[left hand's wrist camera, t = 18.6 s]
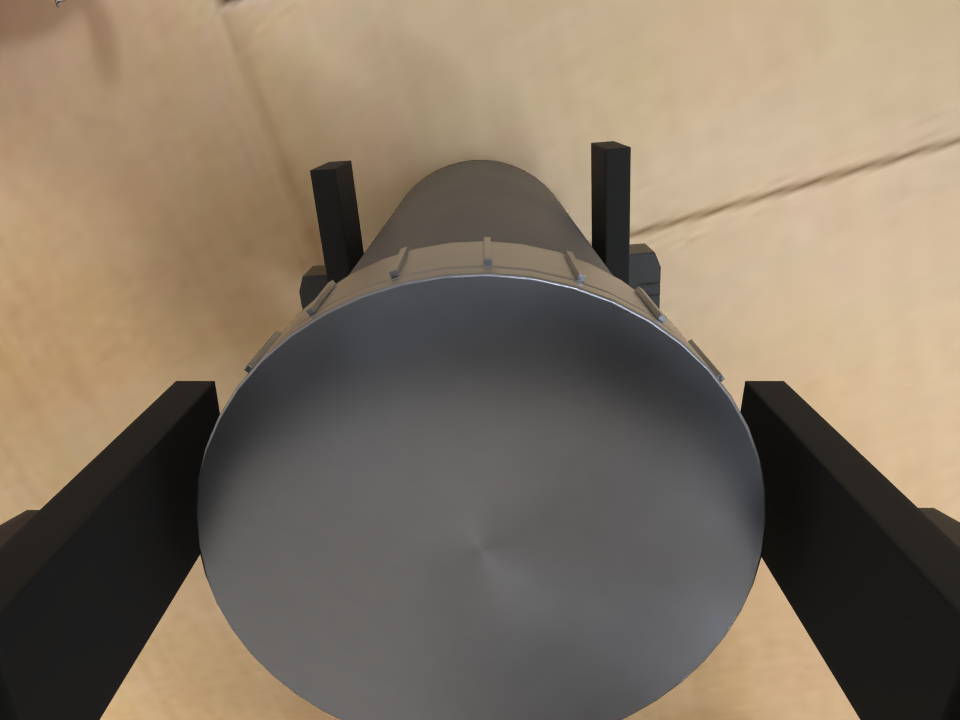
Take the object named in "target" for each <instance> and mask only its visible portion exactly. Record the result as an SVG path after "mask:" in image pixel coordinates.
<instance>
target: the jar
mask: <svg viewBox="0 0 960 720" xmlns="http://www.w3.org/2000/svg"><path fill="white" fill-rule="evenodd" d="M484 237H490V238H491V242H502V243H514V244H524V245H528V246H533V247H537V248H542V249H547V250H551V251H556V252H559V253H562V254H565V252H566V250H568V251H571V252H573V254H574V256H575V258H576V259H578V260H581V261H584V262H586V263H589V264H592V265H593V266H595V267H597V268H599V269H601V270H603V271H605V272H607V273H609V274H610V275H612V274H611V272H610V271H609V270H608V268H607V267H606V266H605V264H604V263H603V261H602V260H601V259H600V257H599V256H598V255H597V253H596V252H595V250H594V249H593V248H592V246H591V245H590V244H589V242H588V241H587V240H586V238H585V237H584V235H583V234H582V233H581V231H580V230H579V229H578V227H577V226H576V224H575V223H574V222H573V220H572V219H571V218H570V216H569V215H568V213H567V212H566V211H565V209H564V208H563V207H562V205H561V204H560V202H559V201H558V200H557V198H556V197H555V196H554V194H553V193H552V192H551V191H550V190H549V189H548V188H547V187H546V186H545V185H544V184H543V183H542V182H540V181H539V180H538V179H537V178H535V177H534V176H532V175H530V174H529V173H527V172H525V171H524V170H521V169H519V168H517V167H514V166H512V165H509V164H505V163H501V162H496V161H488V160H472V161H465V162H459V163H456V164H452V165H449V166H446V167H444V168H442V169H439V170H437V171H435V172H434V173H432V174H430V175H429V176H427V177H425V178H424V179H423V180H422V181H420V182H419V183H418V184H417V185H416V186H415V187H414V188H413V189H412V190H411V191H410V192H409V193H408V194H407V195H406V197H405V198H404V199H403V201H402V202H401V204H400V205H399V206H398V208H397V209H396V210H395V212H394V213H393V215H392V216H391V217H390V219H389V220H388V222H387V223H386V224H385V226H384V227H383V228H382V230H381V231H380V233H379V234H378V235H377V237H376V238H375V240H374V241H373V242H372V244H371V245H370V246H369V248H368V249H367V251H366V252H365V253H364V255H363V256H362V258H361V259H360V260H359V262H358V263H357V264H356V266H355V267H354V269H353V270H352V271H351V273H350V274H352V273H355V272H357V271H359V270H361V269H363V268H365V267H367V266H369V265H372V264H374V263H376V262H378V261H380V260H382V259H385V258H389V257H392V256H395V255H398V253H399V251H400V249H401V248H404V247H407V248H408V251H411V250H414V249H418V248H424V247H429V246H435V245H441V244H447V243H456V242H479V241H484ZM350 274H349V275H350ZM612 276H613V275H612Z"/></svg>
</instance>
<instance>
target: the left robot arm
mask: <svg viewBox="0 0 960 720" xmlns="http://www.w3.org/2000/svg"><path fill="white" fill-rule="evenodd" d="M740 413H741V414H742V416H743V418H744V420H745V422H746V423H747V425H748V427H749V430H750V433H751V436H752V438H753V441H754V444H755V447H756V450H757V452H758V455H759V458H760V463H761V468H762V474H763V479H764V485H765V490H766V529H765V536H764V544H763V551H762V556H761V557H762V558H763V560H764V562H765V563H766V565H767V567H768V568H769V570H770V572H771V573H772V575H773V577H774V578H775V580H776V581H777V583H778V585H779V586H780V588H781V590H782V591H783V593H784V595H785V596H786V598H787V600H788V601H789V603H790V605H791V606H792V608H793V609H794V611H795V613H796V614H797V616H798V618H799V619H800V621H801V623H802V624H803V626H804V628H805V629H806V631H807V633H808V634H809V636H810V637H811V639H812V641H813V642H814V644H815V646H816V647H817V649H818V651H819V652H820V654H821V656H822V657H823V659H824V660H825V662H826V664H827V665H828V667H829V669H830V670H831V672H832V674H833V675H834V677H835V679H836V680H837V682H838V684H839V685H840V687H841V688H842V690H843V692H844V693H845V695H846V697H847V698H848V700H849V702H850V703H851V705H852V707H853V708H854V710H855V712H856V713H857V715H858V716H859V718H860V720H960V522H958V521H956V520H954V519H953V518H951V517H949V516H947V515H945V514H944V513H942V512H940V511H938V510H936V509H935V508H917V507H916V506H915V505H914V504H913V503H912V502H911V501H910V500H909V499H908V498H907V497H906V496H905V495H904V494H902V493H901V492H900V491H899V490H898V489H897V488H896V487H895V486H894V485H893V484H892V483H891V482H890V481H889V480H888V479H887V478H886V477H885V476H883V475H882V474H881V473H880V472H879V471H878V470H877V469H876V468H875V467H874V466H873V465H872V464H871V463H870V462H869V461H868V460H867V459H866V458H864V457H863V456H862V455H861V454H860V453H859V452H858V451H857V450H856V449H855V448H854V447H853V446H852V445H851V444H850V443H849V442H848V441H847V440H845V439H844V438H843V437H842V436H841V435H840V434H839V433H838V432H837V431H836V430H835V429H834V428H833V427H832V426H831V425H830V424H829V423H828V422H826V421H825V420H824V419H823V418H822V417H821V416H820V415H819V414H818V413H817V412H816V411H815V410H814V409H813V408H812V407H811V406H810V405H808V404H807V403H806V402H805V401H804V400H803V399H802V398H801V397H800V396H799V395H798V394H797V393H796V392H795V391H794V390H793V389H792V388H791V387H789V386H788V385H787V384H786V383H785V382H784V381H745V387H744V393H743V399H742V405H741V412H740ZM219 415H220V412H219V405H218V399H217V393H216V387H215V381H176V382H175V383H174V384H173V385H172V386H171V387H169V388H168V389H167V390H166V391H165V392H164V393H163V394H162V395H161V396H160V397H159V398H158V399H157V400H156V401H155V402H154V403H153V404H152V405H150V406H149V407H148V408H147V409H146V410H145V411H144V412H143V413H142V414H141V415H140V416H139V417H138V418H137V419H136V420H135V421H134V422H132V423H131V424H130V425H129V426H128V427H127V428H126V429H125V430H124V431H123V432H122V433H121V434H120V435H119V436H118V437H117V438H116V439H115V440H113V441H112V442H111V443H110V444H109V445H108V446H107V447H106V448H105V449H104V450H103V451H102V452H101V453H100V454H99V455H98V456H97V457H96V458H94V459H93V460H92V461H91V462H90V463H89V464H88V465H87V466H86V467H85V468H84V469H83V470H82V471H81V472H80V473H79V474H78V475H77V476H75V477H74V478H73V479H72V480H71V481H70V482H69V483H68V484H67V485H66V486H65V487H64V488H63V489H62V490H61V491H60V492H59V493H57V494H56V495H55V496H54V497H53V498H52V499H51V500H50V501H49V502H48V503H47V504H46V505H45V506H44V507H43V508H42V509H41V510H26V511H25V512H23V513H21V514H19V515H18V516H16V517H14V518H12V519H10V520H9V521H7V522H5V523H3V524H2V525H0V720H100V718H101V716H102V715H103V713H104V712H105V710H106V708H107V707H108V705H109V703H110V702H111V700H112V698H113V697H114V695H115V693H116V692H117V690H118V688H119V687H120V685H121V684H122V682H123V680H124V679H125V677H126V675H127V674H128V672H129V670H130V669H131V667H132V665H133V664H134V662H135V660H136V659H137V657H138V656H139V654H140V652H141V651H142V649H143V647H144V646H145V644H146V642H147V641H148V639H149V637H150V636H151V634H152V633H153V631H154V629H155V628H156V626H157V624H158V623H159V621H160V619H161V618H162V616H163V614H164V613H165V611H166V609H167V608H168V606H169V605H170V603H171V601H172V600H173V598H174V596H175V595H176V593H177V591H178V590H179V588H180V586H181V585H182V583H183V581H184V580H185V578H186V577H187V575H188V573H189V572H190V570H191V568H192V567H193V565H194V563H195V562H196V560H197V558H198V557H199V555H200V550H199V546H198V537H197V525H196V499H197V486H198V478H199V473H200V469H201V465H202V461H203V457H204V453H205V449H206V446H207V444H208V441H209V439H210V435H211V433H212V432H213V429H214V427H215V424H216V422H217V420H218V417H219Z"/></svg>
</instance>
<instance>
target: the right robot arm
mask: <svg viewBox="0 0 960 720" xmlns="http://www.w3.org/2000/svg"><path fill="white" fill-rule="evenodd" d="M630 155H631V147H628V146H625V145H623V144H620V143H617V142H614V141H612V142H598V143H591V176H592V248H593V249H594V250H595V252H596V253H597V255H598V256H599V257H600V259H601V260H602V261H603V263H604V264H605V266H606V267H607V268H608V270H609V271H610V272H611V274H612V275H613V276H614V277H616V278H618V279H620V280H622V281H623V282H624V283H626V284H627V285H629V286H630V287H631V288H633V289H634V290H636V288H637V287H638V286H639V287H640V288H642V289H643V290H644V291H645V293H646V294H647V295H648V296H649V297H650V299H651V300H652V301H653V302H654V303H655V305H656V306H657V307H658V308H659V302H660V298H659V295H660V269H661V267H660V265H659V262H658V260H657V257H656V254H655V252H654V251H652V250H651V249H650V248H649V247H648V246H647V245H646V244H632V245H629V232H630ZM310 173H311V179H312V185H313V192H314V198H315V204H316V211H317V217H318V223H319V230H320V236H321V242H322V248H323V255H324V261H325V266H313V267H312V268H311V269H310V270H309V271H308V272H307V273H306V274H305V275H304V276H303V278H302V283H301V287H300V291H299V292H300V298H301V303H302V307H303V309H304V308H306V307H307V306H308V305H309V304H310V303H311V302H312V301H314V300H315V299H316V297H317V296H318V295H319V294H320V292H321V291H322V290H323V289H324V287H325V286H326V285H327V284H328V283H329V282H330V281H332V280H333V281H334V282H335V283H336V284H337V283H338V282H340V281H341V280H343V279H344V278H346V277H347V276H349V274H350V273H351V271H352V270H353V269H354V267H355V266H356V264H357V263H358V262H359V260H360V259H361V258H362V256H363V255H364V252H363V245H362V238H361V230H360V223H359V216H358V208H357V201H356V194H355V186H354V179H353V171H352V164H351V161H338V162H328V163H326V164H324V165H322V166H319V167H317V168H315V169H313V170H311V171H310Z"/></svg>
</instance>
